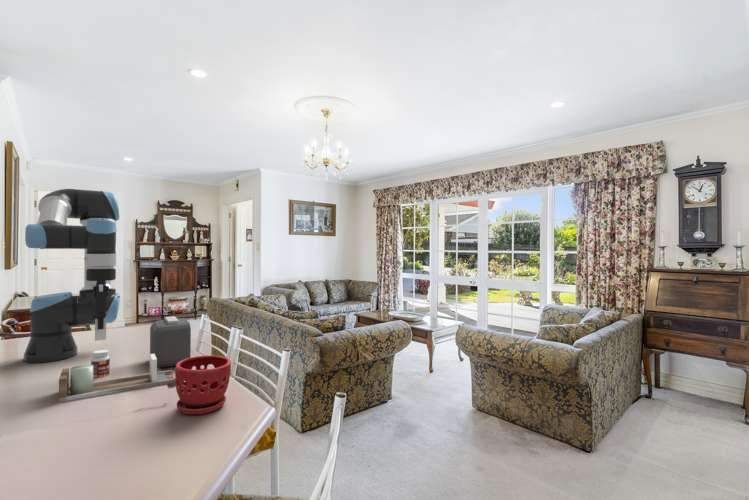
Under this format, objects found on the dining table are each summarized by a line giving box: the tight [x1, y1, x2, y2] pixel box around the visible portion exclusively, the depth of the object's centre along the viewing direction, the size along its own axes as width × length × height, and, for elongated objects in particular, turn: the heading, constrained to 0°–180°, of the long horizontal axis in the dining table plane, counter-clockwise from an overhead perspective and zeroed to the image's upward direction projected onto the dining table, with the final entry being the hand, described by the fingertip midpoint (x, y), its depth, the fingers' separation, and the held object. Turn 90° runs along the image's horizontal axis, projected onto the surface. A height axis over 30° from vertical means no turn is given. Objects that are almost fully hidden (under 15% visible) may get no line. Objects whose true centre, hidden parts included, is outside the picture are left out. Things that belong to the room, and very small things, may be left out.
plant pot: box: [174, 355, 232, 415], centre depth 98 cm, size 13×13×12 cm
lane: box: [58, 367, 176, 404], centre depth 110 cm, size 10×27×7 cm, turn 125°
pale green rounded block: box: [69, 364, 94, 395], centre depth 104 cm, size 5×5×7 cm
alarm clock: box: [149, 315, 192, 368], centre depth 136 cm, size 16×11×16 cm
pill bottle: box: [90, 349, 111, 379], centre depth 119 cm, size 5×5×8 cm
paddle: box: [149, 353, 167, 382], centre depth 115 cm, size 7×4×7 cm, turn 35°
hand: (100, 335), depth 119 cm, fingers open, 13 cm apart
